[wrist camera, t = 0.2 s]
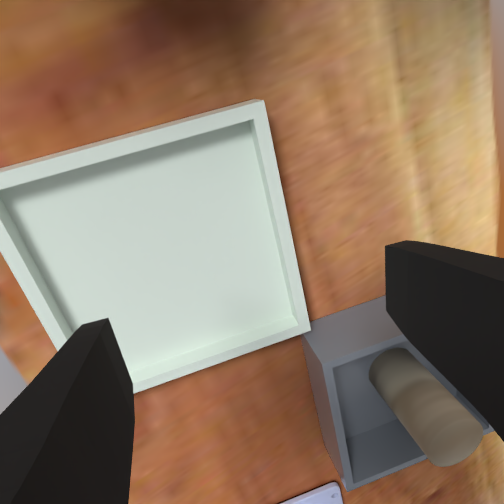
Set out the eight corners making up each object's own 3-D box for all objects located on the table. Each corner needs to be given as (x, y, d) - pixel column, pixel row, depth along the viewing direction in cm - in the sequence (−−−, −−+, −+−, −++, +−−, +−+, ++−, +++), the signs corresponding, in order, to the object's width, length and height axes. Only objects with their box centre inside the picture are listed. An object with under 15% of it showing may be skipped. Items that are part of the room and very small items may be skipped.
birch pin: (414, 377, 26) (482, 452, 21) (371, 394, 26) (429, 474, 21) (411, 340, 25) (484, 410, 20) (366, 357, 25) (427, 433, 19)
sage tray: (300, 314, 23) (311, 330, 21) (94, 387, 21) (90, 408, 20) (254, 99, 18) (263, 100, 16) (-23, 174, 16) (-39, 183, 15)
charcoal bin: (457, 392, 29) (495, 430, 26) (324, 445, 28) (347, 492, 25) (457, 269, 24) (503, 297, 21) (297, 326, 23) (321, 364, 20)
